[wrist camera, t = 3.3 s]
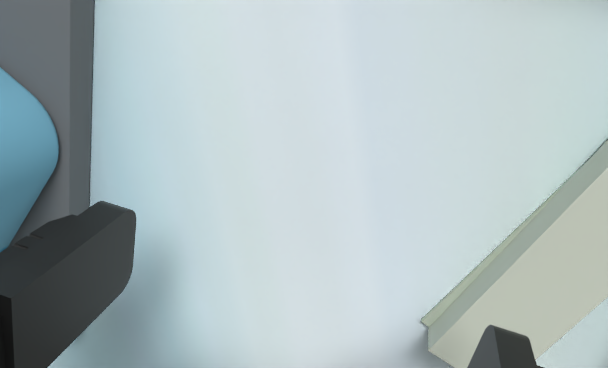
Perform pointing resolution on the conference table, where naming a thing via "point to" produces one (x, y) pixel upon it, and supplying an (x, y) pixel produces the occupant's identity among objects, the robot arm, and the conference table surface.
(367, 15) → the conference table surface
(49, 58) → the rubber mat
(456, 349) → the beige rectangular bar
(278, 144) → the conference table surface
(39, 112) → the data package
